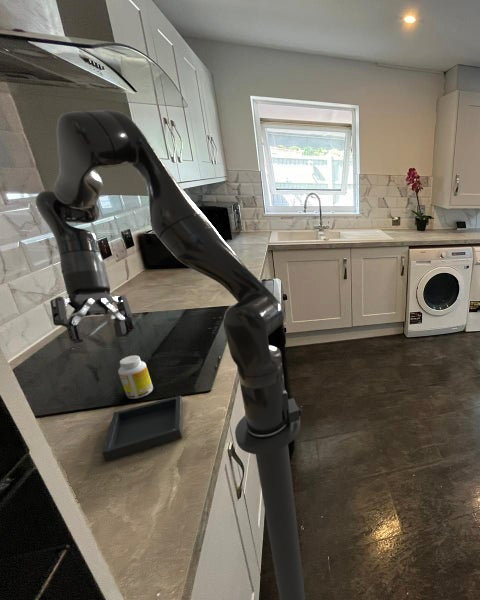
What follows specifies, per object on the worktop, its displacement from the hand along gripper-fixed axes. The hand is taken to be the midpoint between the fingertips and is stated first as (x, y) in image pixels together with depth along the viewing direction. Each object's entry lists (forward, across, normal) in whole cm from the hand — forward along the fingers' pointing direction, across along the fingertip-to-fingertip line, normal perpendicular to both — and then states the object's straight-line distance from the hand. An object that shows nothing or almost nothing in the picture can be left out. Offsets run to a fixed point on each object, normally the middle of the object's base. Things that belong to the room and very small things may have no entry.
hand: (101, 339), depth 76 cm
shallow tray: (+23, 0, -8) cm, 25 cm away
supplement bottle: (+15, +8, +4) cm, 17 cm away
